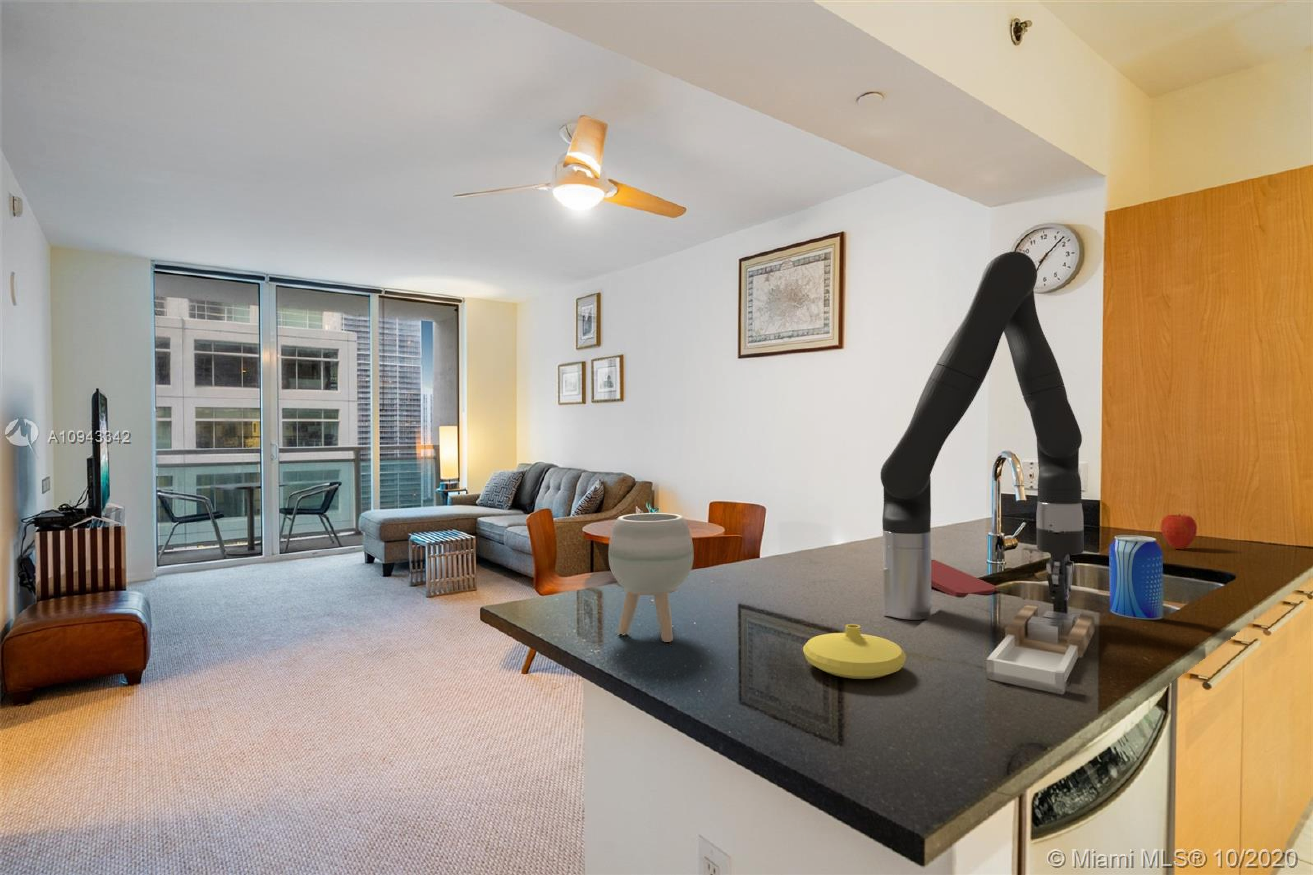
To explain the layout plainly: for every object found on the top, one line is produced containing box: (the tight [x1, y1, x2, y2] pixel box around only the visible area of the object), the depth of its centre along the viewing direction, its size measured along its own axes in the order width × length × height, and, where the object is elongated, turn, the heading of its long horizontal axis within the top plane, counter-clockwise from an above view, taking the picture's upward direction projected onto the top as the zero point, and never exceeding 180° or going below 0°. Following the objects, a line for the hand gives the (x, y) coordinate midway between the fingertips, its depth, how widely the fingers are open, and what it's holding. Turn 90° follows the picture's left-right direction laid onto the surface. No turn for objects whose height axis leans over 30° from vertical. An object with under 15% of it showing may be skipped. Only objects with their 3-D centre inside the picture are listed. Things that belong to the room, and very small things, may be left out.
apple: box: [1160, 513, 1198, 550], centre depth 197 cm, size 9×8×11 cm
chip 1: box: [1028, 616, 1062, 644], centre depth 114 cm, size 4×4×3 cm
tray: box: [986, 634, 1079, 695], centre depth 102 cm, size 15×10×3 cm, turn 141°
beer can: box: [1108, 534, 1164, 620], centre depth 128 cm, size 8×8×16 cm
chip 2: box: [1042, 610, 1077, 637], centre depth 117 cm, size 4×4×3 cm
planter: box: [607, 512, 694, 643], centre depth 124 cm, size 16×16×22 cm
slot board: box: [1004, 605, 1096, 659], centre depth 115 cm, size 18×11×4 cm, turn 141°
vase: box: [802, 623, 907, 680], centre depth 105 cm, size 16×16×7 cm
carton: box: [931, 559, 997, 598], centre depth 160 cm, size 12×5×25 cm
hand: (1060, 618), depth 123 cm, fingers closed
